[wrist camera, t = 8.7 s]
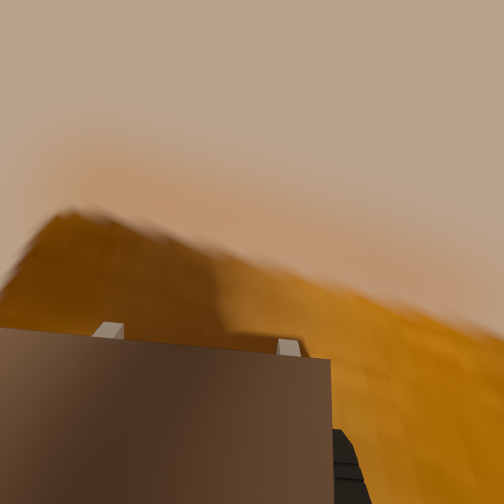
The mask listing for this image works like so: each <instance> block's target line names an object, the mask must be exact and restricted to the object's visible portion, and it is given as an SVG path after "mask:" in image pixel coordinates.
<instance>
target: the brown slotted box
mask: <svg viewBox="0 0 504 504" xmlns="http://www.w3.org/2000/svg"><path fill="white" fill-rule="evenodd" d="M0 504H334V473H333V436H332V399H331V362H330V359H320V358H309V357H299V356H289V355H278V354H268V353H258V352H248V351H237V350H227V349H217V348H206V347H196V346H186V345H175V344H165V343H155V342H144V341H134V340H124V339H113V338H103V337H93V336H82V335H72V334H62V333H52V332H41V331H31V330H21V329H10V328H0Z"/></svg>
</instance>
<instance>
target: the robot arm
mask: <svg viewBox="0 0 504 504" xmlns="http://www.w3.org/2000/svg"><path fill="white" fill-rule="evenodd" d="M92 336H93V337H103V338H113V339H124V324H123V323H113V322H103V323H102V325H101V326H100V327H99V328H98V329H97V330H96V332H95V333H94V334H93V335H92ZM276 354H278V355H289V356H299V357H301V354H300V349H299V345H298V341H296V340H286V339H278V345H277V351H276ZM332 436H333V473H334V504H372V503H371V500H370V497H369V494H368V491H367V488H366V484H364V478H363V475H362V472H361V469H360V468H359V463H358V460H357V457H356V454H355V451H354V447H353V445H352V444H351V442H350V441H349V440H348V438H347V437H346V436H345V434H344V433H343V431H342V430H339V429H332Z"/></svg>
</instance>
